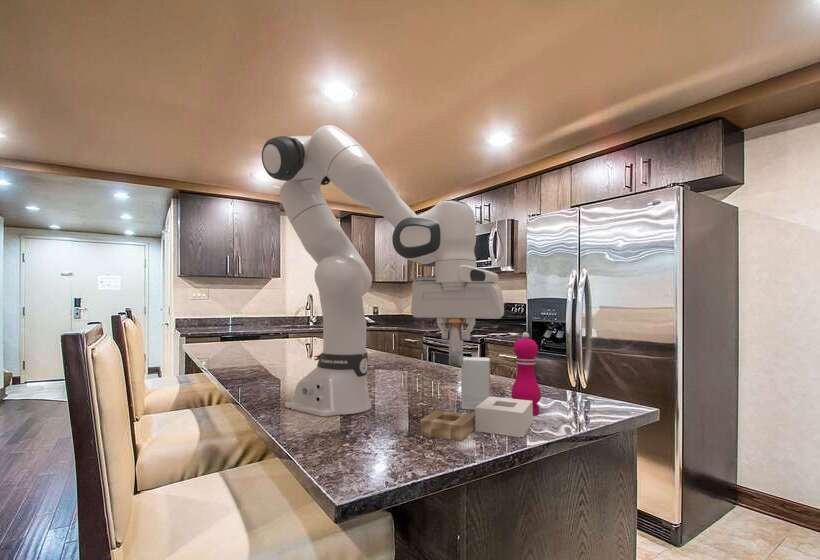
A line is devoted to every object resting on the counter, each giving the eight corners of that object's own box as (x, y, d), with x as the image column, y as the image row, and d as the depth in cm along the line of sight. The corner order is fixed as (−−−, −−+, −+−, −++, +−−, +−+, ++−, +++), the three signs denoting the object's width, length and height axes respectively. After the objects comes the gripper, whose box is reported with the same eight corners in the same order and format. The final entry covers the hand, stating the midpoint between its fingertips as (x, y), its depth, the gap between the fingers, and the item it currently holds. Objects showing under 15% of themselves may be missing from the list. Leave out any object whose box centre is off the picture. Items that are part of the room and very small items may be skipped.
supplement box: (489, 411, 107) (489, 360, 108) (460, 409, 109) (460, 359, 110) (490, 404, 115) (490, 357, 115) (462, 402, 116) (462, 356, 117)
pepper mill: (517, 407, 111) (517, 330, 112) (545, 411, 107) (544, 332, 108) (506, 413, 105) (506, 332, 106) (535, 417, 101) (534, 333, 102)
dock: (475, 431, 90) (475, 407, 90) (489, 417, 101) (489, 396, 101) (523, 437, 86) (522, 412, 86) (532, 422, 97) (532, 400, 97)
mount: (420, 434, 87) (420, 420, 88) (436, 423, 96) (436, 410, 96) (461, 441, 84) (462, 425, 84) (475, 429, 92) (474, 415, 92)
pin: (444, 365, 90) (444, 318, 90) (450, 363, 93) (450, 317, 94) (461, 367, 88) (461, 318, 89) (467, 364, 91) (467, 318, 92)
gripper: (406, 275, 93) (406, 339, 92) (498, 272, 84) (499, 342, 84) (418, 277, 99) (418, 336, 98) (505, 274, 90) (506, 340, 89)
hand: (456, 339), depth 91 cm, fingers closed on pin, 3 cm apart
